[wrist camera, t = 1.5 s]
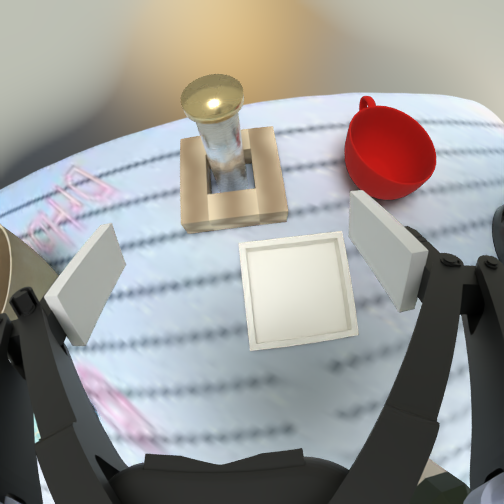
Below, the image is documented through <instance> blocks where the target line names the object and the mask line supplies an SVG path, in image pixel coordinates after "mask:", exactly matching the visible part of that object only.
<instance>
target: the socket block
mask: <svg viewBox="0 0 504 504" xmlns="http://www.w3.org/2000/svg"><path fill="white" fill-rule="evenodd" d="M241 137H242V145H243V152H244V159H245V164H249V163H252V167H253V175H254V182H255V188H254V189H246V190H238V191H230V192H223V193H215V194H212V191H211V174H210V169H211V166H210V163H209V160H208V157H207V154H206V151H205V148H204V145H203V142H202V139H201V136H196V137H190V138H184V139H181V141H180V203H181V225H182V226H183V228H184V229H185V230H186V231H187V233H188V234H192V233H199V232H207V231H214V230H222V229H230V228H238V227H246V226H254V225H263V224H271V223H280V222H286V221H287V215H288V206H287V201H286V195H285V189H284V183H283V178H282V172H281V166H280V161H279V156H278V150H277V145H276V140H275V135H274V130H273V126H271V127H261V128H252V129H243V130H241Z"/></svg>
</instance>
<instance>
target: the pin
mask: <svg viewBox="0 0 504 504" xmlns="http://www.w3.org/2000/svg"><path fill="white" fill-rule="evenodd" d="M243 102H244V96H243V88H242V86H241V84H240V82H239V81H237V80H236V79H235V78H233V77H231V76H227V75H223V74H214V75H207V76H204V77H201V78H198V79H196V80H195V81H193V82H192V83H190V84H189V85H188V86H187V87H186V88H185V89H184V91H183V93H182V95H181V104H182V107H183V110H184V112H185V114H186V116H187V117H188V118H189V119H191V120H192V121H194V122H196V124H197V127H198V130H199V133H200V136H201V139H202V142H203V145H204V148H205V151H206V154H207V157H208V160H209V163H210V166H211V169H212V172H213V174H214V177H215V180H216V183H217V186H218V189H219V191H220V193H223V192H230V191H238V190H246V189H247V186H248V181H247V174H246V166H245V159H244V152H243V145H242V137H241V130H240V123H239V116H238V112H239V110H240V109H241V107H242V105H243Z"/></svg>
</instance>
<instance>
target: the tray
mask: <svg viewBox="0 0 504 504" xmlns="http://www.w3.org/2000/svg"><path fill="white" fill-rule="evenodd" d="M239 252H240V262H241V272H242V281H243V291H244V300H245V309H246V318H247V327H248V336H249V345H250V351H254V350H264V349H272V348H280V347H288V346H295V345H302V344H309V343H316V342H322V341H328V340H334V339H339V338H345V337H350V336H356V335H359V333H358V325H357V317H356V310H355V303H354V296H353V290H352V283H351V277H350V271H349V266H348V260H347V255H346V249H345V244H344V239H343V234H342V231H338V232H329V233H320V234H312V235H303V236H294V237H286V238H277V239H269V240H260V241H252V242H244V243H239Z"/></svg>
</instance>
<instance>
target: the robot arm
mask: <svg viewBox="0 0 504 504" xmlns="http://www.w3.org/2000/svg"><path fill="white" fill-rule="evenodd" d="M349 238H350V239H351V241H352V242H353V244H354V245H355V246H356V248H357V249H358V251H359V252H360V254H361V255H362V257H363V258H364V259H365V261H366V262H367V264H368V265H369V267H370V268H371V270H372V271H373V273H374V274H375V276H376V277H377V279H378V280H379V282H380V283H381V285H382V286H383V288H384V289H385V291H386V293H387V294H388V296H389V297H390V299H391V300H392V302H393V304H394V305H395V307H396V308H397V310H398V312H403V311H407V310H412V309H415V305H416V302H417V298H419V299H420V301H421V302H422V306H421V309H420V313H419V316H418V319H417V322H416V326H415V329H414V332H413V335H412V338H411V341H410V343H409V346H408V349H407V352H406V354H405V357H404V360H403V362H402V365H401V368H400V370H399V373H398V375H397V377H396V380H395V382H394V385H393V387H392V389H391V392H390V394H389V396H388V398H387V400H386V403H385V405H384V407H383V409H382V411H381V413H380V415H379V417H378V419H377V421H376V423H375V425H374V427H373V429H372V431H371V433H370V435H369V437H368V439H367V441H366V442H365V444H364V446H363V448H362V450H361V451H360V453H359V455H358V457H357V458H356V460H355V462H354V463H353V465H352V467H351V468H350V470H348V469H346V468H344V467H343V466H341V465H339V464H336V463H334V462H331V461H328V460H324V459H320V458H314V457H304V456H303V450H302V448H301V449H294V450H287V451H279V452H271V453H262V454H258V455H255V456H252V457H249V458H245V459H242V460H238V461H235V462H231V463H227V464H223V465H216V464H212V463H207V462H203V461H199V460H195V459H191V458H187V457H183V456H173V455H157V454H145V461H144V463H140V464H136V465H133V466H131V467H128V466H127V465H126V464H125V463H124V462H123V460H122V459H121V457H120V456H119V454H118V453H117V451H116V449H115V448H114V446H113V444H112V442H111V441H110V439H109V437H108V435H107V434H106V432H105V430H104V428H103V426H102V424H101V423H100V421H99V419H98V417H97V415H96V413H95V411H94V409H93V407H92V405H91V403H90V401H89V399H88V396H87V394H86V392H85V390H84V388H83V385H82V383H81V381H80V379H79V376H78V374H77V371H76V369H75V367H74V364H73V361H72V359H71V356H70V354H69V351H68V348H67V347H66V345H65V344H64V340H65V338H66V336H67V338H68V339H69V341H70V342H71V344H72V345H73V346H86V345H87V342H88V340H89V338H90V336H91V333H92V331H93V329H94V327H95V325H96V323H97V321H98V318H99V316H100V314H101V312H102V310H103V308H104V306H105V304H106V302H107V300H108V298H109V296H110V294H111V292H112V290H113V288H114V286H115V284H116V282H117V281H118V279H119V277H120V275H121V273H122V271H123V269H124V267H125V266H126V263H125V260H124V258H123V255H122V252H121V249H120V246H119V243H118V240H117V237H116V234H115V231H114V228H113V225H112V223H109V224H104V225H100V226H99V228H98V229H97V230H96V231H95V232H94V233H93V235H92V236H91V237H90V238H89V239H88V240H87V242H86V243H85V244H84V245H83V246H82V248H81V249H80V250H79V251H78V253H77V254H76V255H75V256H74V257H73V259H72V260H71V261H70V263H69V264H68V265H67V266H66V268H65V269H64V270H63V272H62V273H61V274H60V275H59V276H58V277H57V278H56V279H55V281H54V282H53V284H52V285H51V286H50V289H48V290H47V292H46V293H45V294H44V296H43V297H42V299H41V300H40V302H39V300H38V299H37V297H36V295H35V293H34V291H33V289H32V287H29V286H28V287H24V288H21V289H20V290H18V291H17V292H15V293H14V294H13V295H12V297H11V298H10V300H9V303H10V305H11V307H12V309H13V310H14V312H15V314H16V315H17V317H18V319H16V320H13V321H11V320H10V319H9V317H8V315H7V314H6V313H1V314H0V504H43V500H42V493H41V486H40V480H39V474H38V466H37V458H38V461H39V464H40V467H41V470H42V473H43V475H44V478H45V481H46V483H47V486H48V488H49V490H50V493H51V495H52V497H53V500H54V502H55V504H408V503H409V501H410V499H411V497H412V495H413V493H414V491H415V489H416V487H417V485H418V482H419V480H420V478H421V476H422V473H423V471H424V469H425V466H426V464H427V461H428V459H429V456H430V454H431V451H432V448H433V446H434V443H435V440H436V437H437V434H438V430H439V423H438V422H437V417H438V413H439V410H440V407H441V403H442V400H443V396H444V392H445V389H446V385H447V381H448V377H449V372H450V368H451V363H452V358H453V353H454V348H455V342H456V337H457V330H458V324H459V316H460V315H461V316H462V321H463V327H464V333H465V339H466V346H467V354H468V363H469V373H470V386H471V406H472V440H471V459H470V494H469V495H468V496H467V498H466V499H465V501H464V503H463V504H504V205H502V206H501V207H499V208H498V209H497V211H496V213H495V215H494V219H493V240H494V245H495V249H496V252H497V255H498V258H499V260H500V261H499V260H498V259H497V258H494V257H493V256H487V255H483V256H480V257H479V258H478V261H477V264H476V266H464V265H463V262H462V261H461V260H460V259H459V258H458V257H456V256H454V255H452V254H448V253H439V252H438V251H437V250H436V249H435V248H434V247H433V246H432V245H431V244H430V243H429V242H427V240H426V239H425V238H424V237H422V235H421V234H420V233H419V232H417V231H416V230H414V229H412V228H410V227H408V226H403V225H402V224H400V223H399V222H398V221H397V220H396V219H395V218H394V217H393V216H392V215H391V214H390V213H388V212H387V211H386V210H385V209H384V208H383V207H382V206H381V205H379V204H378V203H377V202H376V201H375V200H374V199H372V198H371V197H370V196H369V195H368V194H367V193H365V192H364V191H363V190H358V191H350V210H349ZM9 360H10V361H11V363H10V361H9ZM34 416H35V420H36V424H37V427H38V430H39V434H40V437H41V440H40V441H38V442H36V443H35V434H34ZM36 455H37V458H36Z"/></svg>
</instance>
